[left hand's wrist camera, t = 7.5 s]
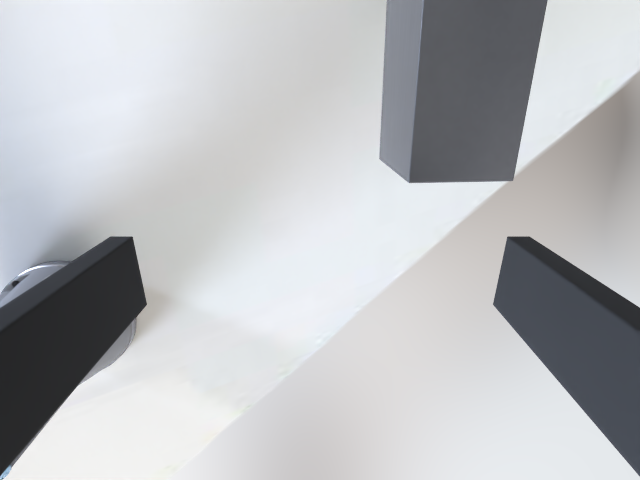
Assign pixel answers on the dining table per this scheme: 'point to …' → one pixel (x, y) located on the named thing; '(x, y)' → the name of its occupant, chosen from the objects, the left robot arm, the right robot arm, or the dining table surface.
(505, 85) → the bar
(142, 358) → the dining table surface
